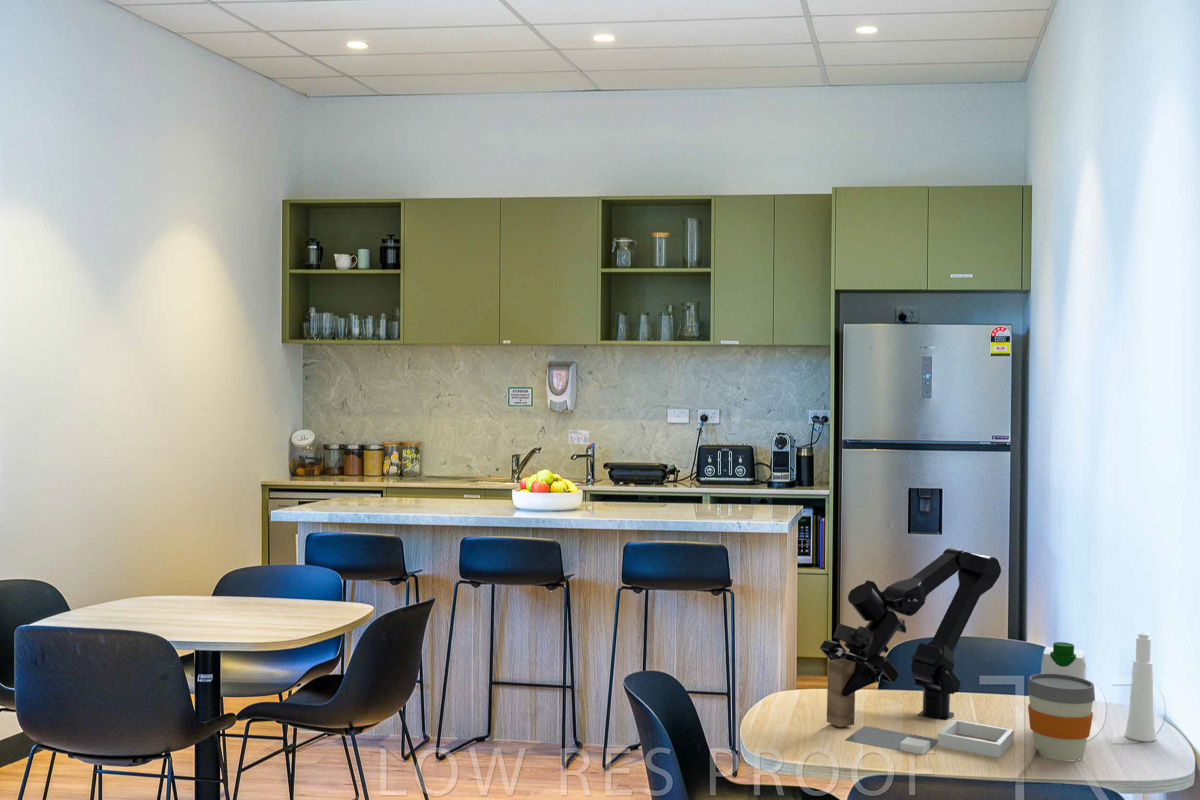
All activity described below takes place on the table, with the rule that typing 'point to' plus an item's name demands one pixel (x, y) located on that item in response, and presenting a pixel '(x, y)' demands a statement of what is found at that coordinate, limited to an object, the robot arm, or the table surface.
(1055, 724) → the reusable coffee cup
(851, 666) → the walnut handle
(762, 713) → the table surface
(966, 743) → the box
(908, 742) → the tile on board
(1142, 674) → the cosmetic bottle
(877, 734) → the slate board
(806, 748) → the table surface
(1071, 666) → the milk carton
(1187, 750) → the table surface
